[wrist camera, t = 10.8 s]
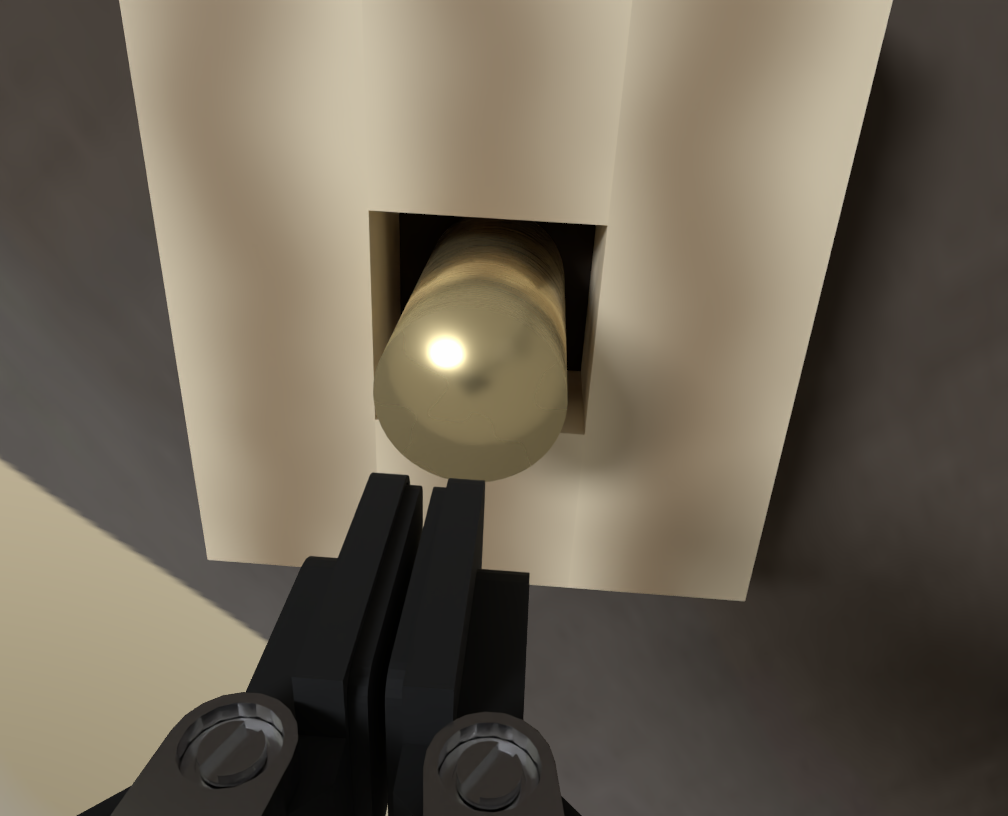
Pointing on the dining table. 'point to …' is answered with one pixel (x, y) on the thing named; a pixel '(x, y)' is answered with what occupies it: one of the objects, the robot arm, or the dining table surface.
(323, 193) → the block
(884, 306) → the dining table surface
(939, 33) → the dining table surface
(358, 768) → the robot arm
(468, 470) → the brass pin
